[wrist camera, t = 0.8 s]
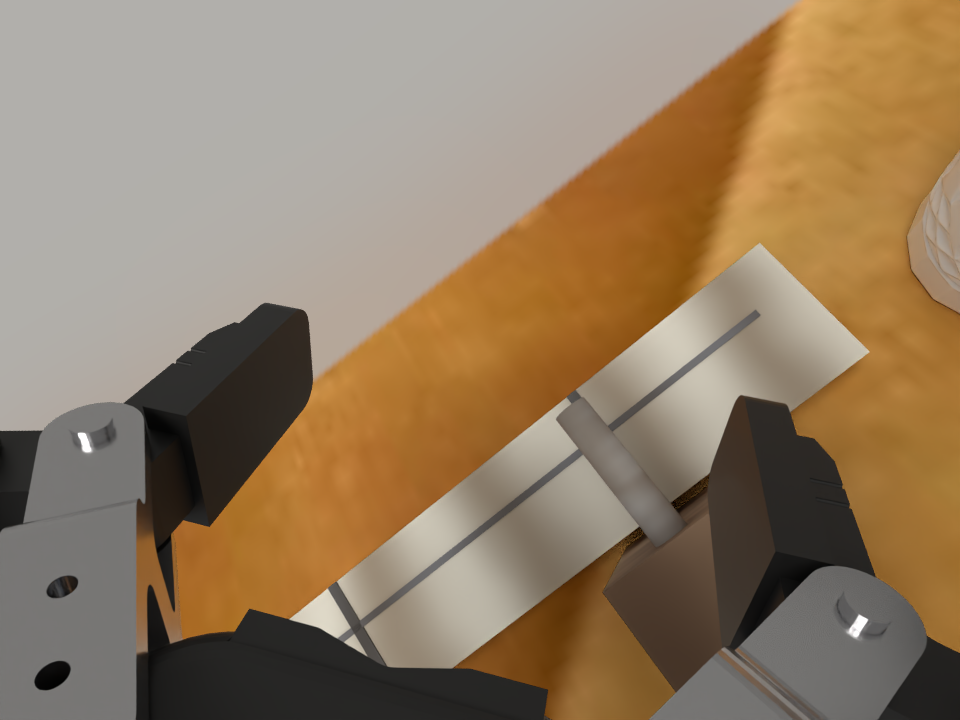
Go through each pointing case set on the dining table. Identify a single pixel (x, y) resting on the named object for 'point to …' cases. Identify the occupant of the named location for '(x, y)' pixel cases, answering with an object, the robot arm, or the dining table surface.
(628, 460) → the upright wooden pillar
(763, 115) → the dining table surface
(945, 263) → the white cup
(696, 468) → the batten
